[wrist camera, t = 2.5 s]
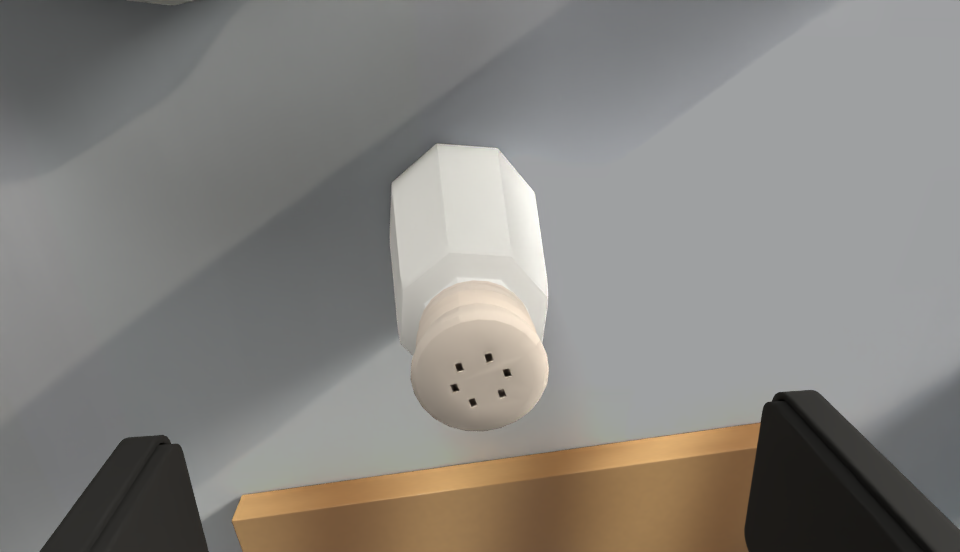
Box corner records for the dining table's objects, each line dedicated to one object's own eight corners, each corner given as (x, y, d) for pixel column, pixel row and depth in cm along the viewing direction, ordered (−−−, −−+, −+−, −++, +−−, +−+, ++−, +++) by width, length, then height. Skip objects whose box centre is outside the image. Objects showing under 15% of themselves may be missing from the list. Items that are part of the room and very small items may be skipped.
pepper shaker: (415, 302, 24) (399, 517, 14) (361, 166, 22) (297, 304, 12) (553, 259, 24) (640, 447, 14) (512, 117, 22) (579, 215, 11)
